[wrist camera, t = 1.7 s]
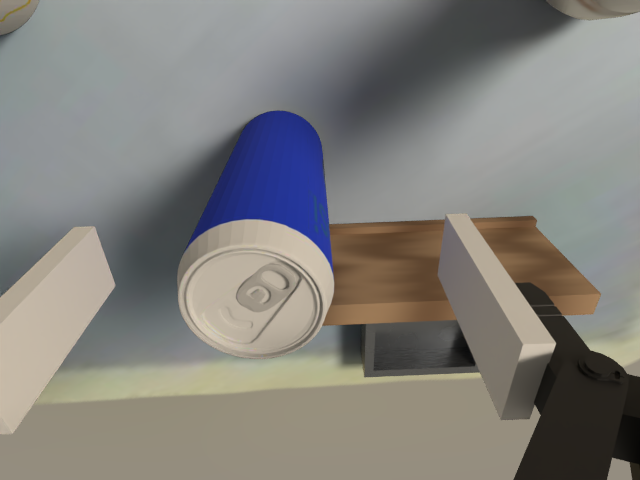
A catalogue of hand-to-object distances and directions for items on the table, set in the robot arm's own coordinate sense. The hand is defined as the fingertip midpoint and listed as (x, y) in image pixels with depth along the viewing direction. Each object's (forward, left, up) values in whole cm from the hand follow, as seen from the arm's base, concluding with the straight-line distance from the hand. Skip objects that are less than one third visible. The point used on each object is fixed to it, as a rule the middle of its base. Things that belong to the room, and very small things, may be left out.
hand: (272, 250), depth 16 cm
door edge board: (+8, -6, -12) cm, 15 cm away
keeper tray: (+10, -13, -12) cm, 20 cm away
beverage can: (0, 0, -12) cm, 12 cm away
